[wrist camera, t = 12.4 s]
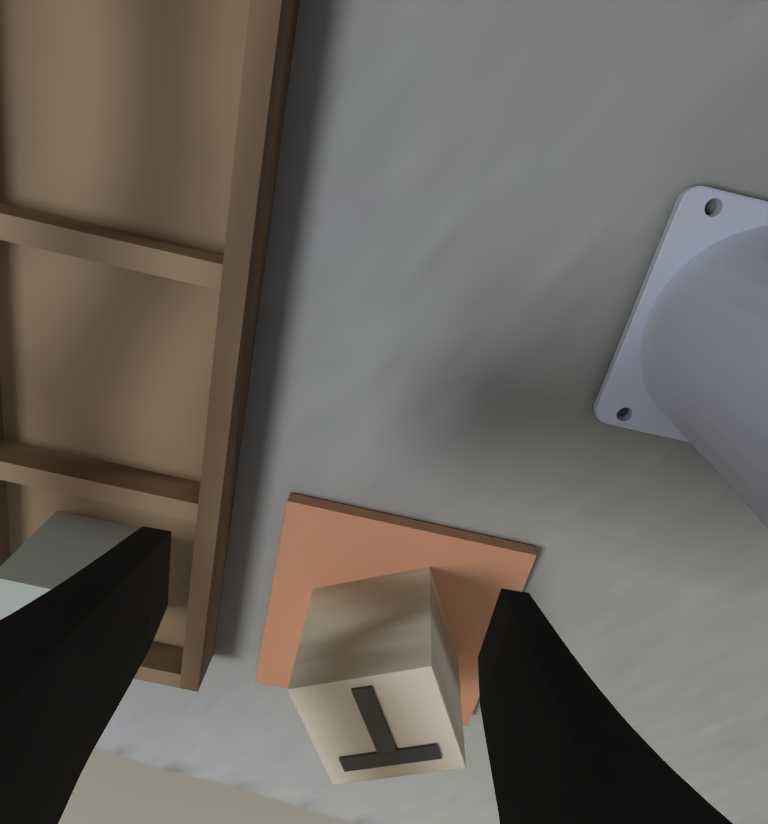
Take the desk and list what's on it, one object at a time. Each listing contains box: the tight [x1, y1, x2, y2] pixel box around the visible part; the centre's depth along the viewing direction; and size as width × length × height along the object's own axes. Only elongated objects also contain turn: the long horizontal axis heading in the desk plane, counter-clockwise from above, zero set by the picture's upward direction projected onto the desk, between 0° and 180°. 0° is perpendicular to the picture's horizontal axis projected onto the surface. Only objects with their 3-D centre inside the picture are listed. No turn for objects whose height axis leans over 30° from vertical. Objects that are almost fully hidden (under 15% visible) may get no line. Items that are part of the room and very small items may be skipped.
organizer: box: [0, 0, 299, 692], centre depth 20 cm, size 10×27×2 cm, turn 168°
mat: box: [255, 493, 537, 726], centre depth 25 cm, size 10×10×1 cm
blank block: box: [0, 511, 140, 620], centre depth 23 cm, size 4×4×4 cm
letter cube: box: [288, 566, 466, 785], centre depth 23 cm, size 5×5×5 cm
